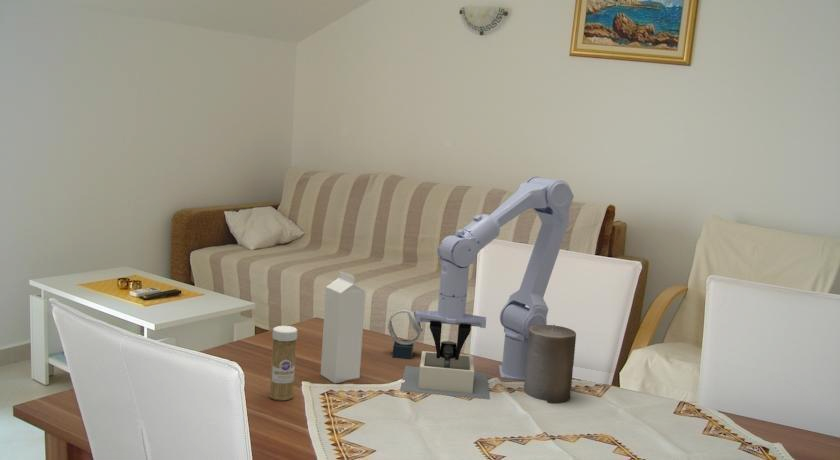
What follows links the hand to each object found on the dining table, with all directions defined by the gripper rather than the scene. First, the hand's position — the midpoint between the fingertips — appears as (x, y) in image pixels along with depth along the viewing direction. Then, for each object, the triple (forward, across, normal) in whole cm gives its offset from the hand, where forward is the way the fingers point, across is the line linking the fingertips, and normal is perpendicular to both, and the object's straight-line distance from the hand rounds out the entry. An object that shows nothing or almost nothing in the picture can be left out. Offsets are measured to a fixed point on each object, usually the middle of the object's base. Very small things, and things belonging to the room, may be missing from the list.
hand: (447, 357), depth 154 cm
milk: (+6, -22, -2) cm, 23 cm away
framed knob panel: (+5, 0, 0) cm, 5 cm away
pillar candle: (+6, +21, -1) cm, 22 cm away
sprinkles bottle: (+6, -31, -16) cm, 35 cm away
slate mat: (+6, 0, 0) cm, 6 cm away
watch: (+6, -10, +16) cm, 20 cm away
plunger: (+5, 0, 0) cm, 5 cm away
